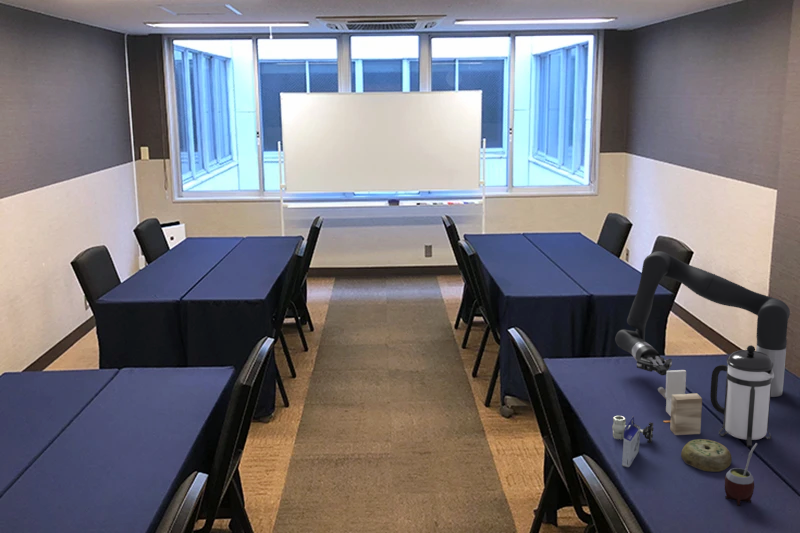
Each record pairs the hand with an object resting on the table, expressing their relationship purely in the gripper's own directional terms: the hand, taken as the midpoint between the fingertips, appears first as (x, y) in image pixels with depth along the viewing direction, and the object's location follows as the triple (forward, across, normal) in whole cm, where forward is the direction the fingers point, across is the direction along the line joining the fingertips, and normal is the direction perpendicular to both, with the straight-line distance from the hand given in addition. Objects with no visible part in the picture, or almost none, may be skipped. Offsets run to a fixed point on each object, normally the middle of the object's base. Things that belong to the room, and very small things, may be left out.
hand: (664, 372), depth 247 cm
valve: (+22, -18, +13) cm, 31 cm away
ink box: (+34, -23, +13) cm, 43 cm away
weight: (+38, -2, +13) cm, 40 cm away
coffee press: (+24, +15, +13) cm, 31 cm away
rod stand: (+10, 0, +12) cm, 16 cm away
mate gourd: (+58, -2, +13) cm, 60 cm away
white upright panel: (+11, 0, +10) cm, 15 cm away
